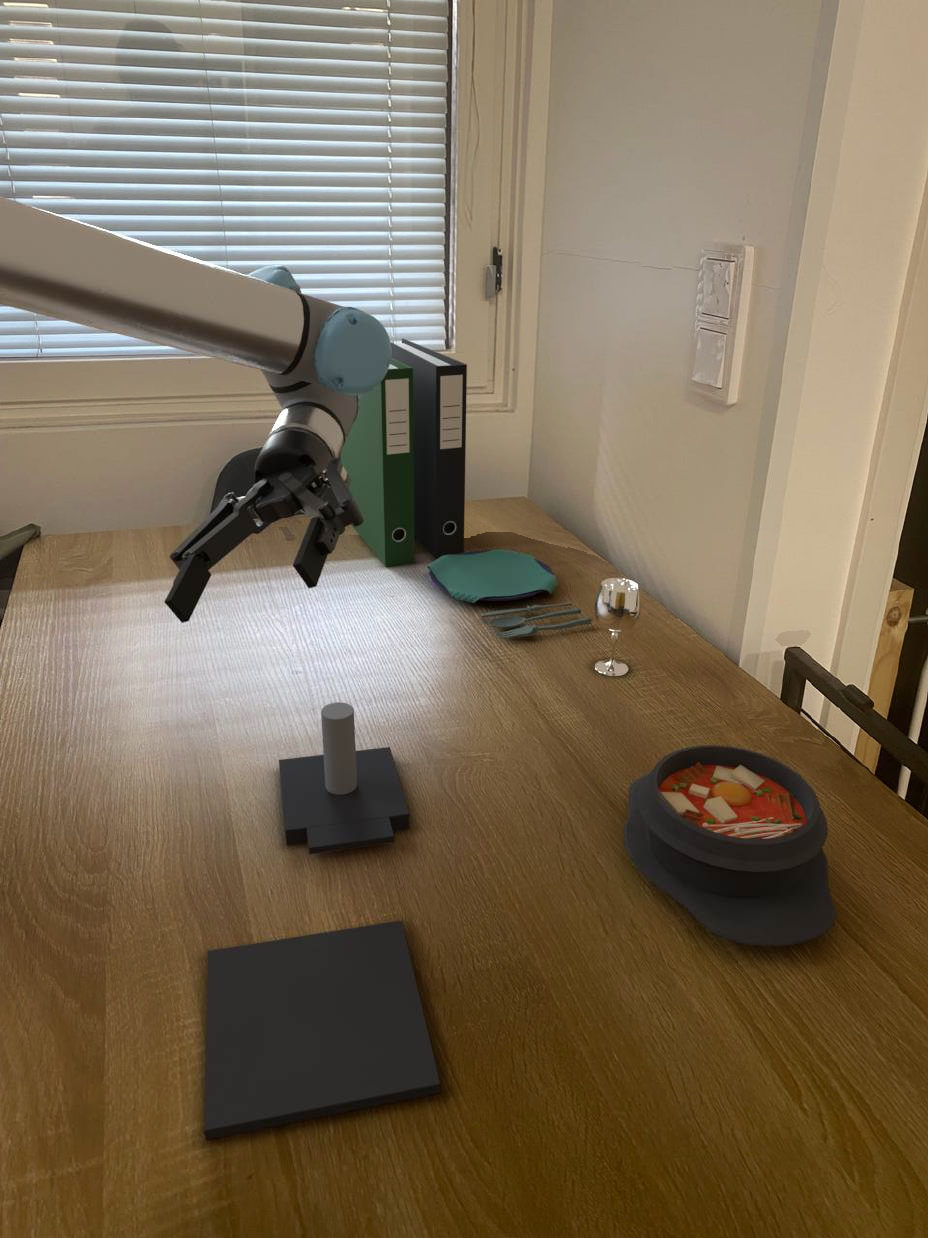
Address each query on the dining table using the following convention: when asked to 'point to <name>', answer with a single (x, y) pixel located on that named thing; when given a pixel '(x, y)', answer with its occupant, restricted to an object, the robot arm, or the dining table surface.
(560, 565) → the dining table surface
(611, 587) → the wineglass
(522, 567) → the cutlery set
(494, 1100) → the dining table surface
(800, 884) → the casserole
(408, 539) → the binder
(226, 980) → the black pad
